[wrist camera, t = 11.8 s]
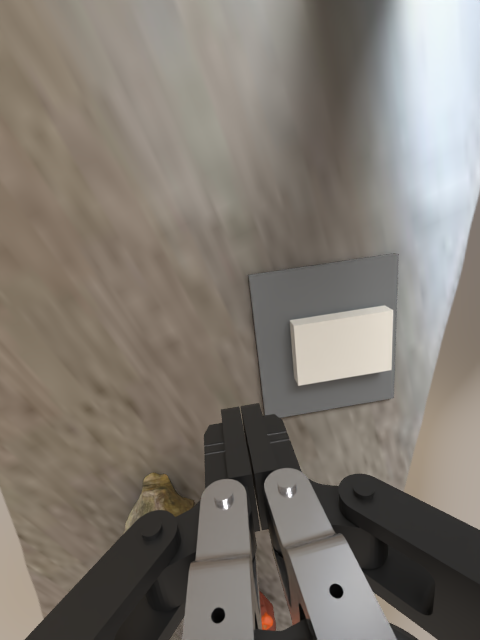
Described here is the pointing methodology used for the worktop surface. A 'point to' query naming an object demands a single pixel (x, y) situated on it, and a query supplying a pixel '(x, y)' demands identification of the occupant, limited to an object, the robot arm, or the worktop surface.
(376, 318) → the tile
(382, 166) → the worktop surface
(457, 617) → the robot arm
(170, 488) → the rock
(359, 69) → the worktop surface
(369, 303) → the mat
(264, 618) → the toy fish
